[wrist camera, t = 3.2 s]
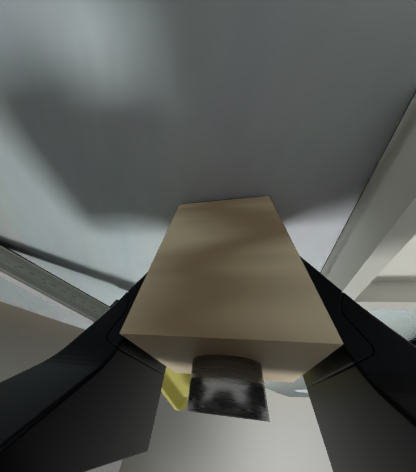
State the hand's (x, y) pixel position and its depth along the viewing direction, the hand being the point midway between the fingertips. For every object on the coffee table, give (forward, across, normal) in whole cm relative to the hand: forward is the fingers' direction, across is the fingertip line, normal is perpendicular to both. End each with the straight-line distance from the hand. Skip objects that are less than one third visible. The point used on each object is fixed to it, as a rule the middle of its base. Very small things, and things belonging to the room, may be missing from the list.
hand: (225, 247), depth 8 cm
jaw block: (+1, 0, 0) cm, 1 cm away
